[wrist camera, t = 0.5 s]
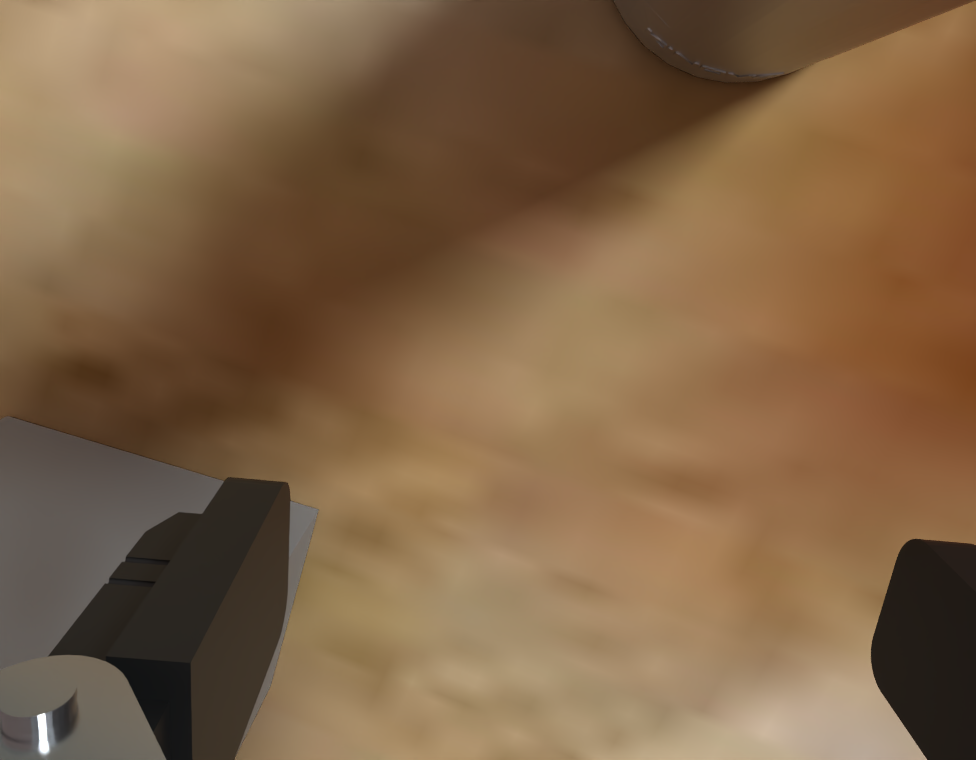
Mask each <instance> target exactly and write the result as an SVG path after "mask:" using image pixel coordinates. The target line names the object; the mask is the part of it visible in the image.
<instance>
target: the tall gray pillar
mask: <svg viewBox="0 0 976 760" xmlns="http://www.w3.org/2000/svg"><path fill="white" fill-rule="evenodd" d="M223 482H224V481H222V480H219V479H216V478H212V477H209V476H206V475H202V474H199V473H196V472H192V471H189V470H186V469H182V468H179V467H176V466H172V465H169V464H166V463H162V462H159V461H156V460H152V459H149V458H146V457H142V456H139V455H136V454H132V453H129V452H126V451H122V450H119V449H116V448H112V447H109V446H106V445H103V444H99V443H96V442H93V441H89V440H86V439H83V438H79V437H76V436H73V435H69V434H66V433H63V432H59V431H56V430H53V429H49V428H46V427H43V426H39V425H36V424H33V423H29V422H26V421H23V420H19V419H16V418H13V417H9V416H6V417H4V418H2V419H0V670H2V669H4V668H6V667H9V666H12V665H15V664H18V663H21V662H24V661H28V660H32V659H36V658H41V657H48V655H49V654H50V653H51V652H52V650H53V649H54V648H55V646H56V645H57V644H58V643H59V641H60V640H61V639H62V637H63V636H64V635H65V634H66V632H67V631H68V630H69V629H70V627H71V626H72V625H73V623H74V622H75V621H76V620H77V618H78V617H79V616H80V614H81V613H82V612H83V611H84V609H85V608H86V607H87V606H88V604H89V603H90V602H91V600H92V599H93V598H94V597H95V595H96V594H97V593H98V591H99V590H100V589H101V588H102V586H103V585H104V584H105V583H106V584H108V582H109V577H110V576H111V575H112V574H113V572H114V571H115V570H116V568H117V567H118V566H119V565H120V563H121V562H125V559H126V556H127V554H128V553H129V552H130V551H131V549H132V548H133V547H134V545H135V544H136V543H137V542H138V540H139V539H140V538H141V537H142V535H143V534H144V533H145V532H146V531H147V530H149V529H151V528H152V527H154V526H156V525H158V524H159V523H161V522H163V521H164V520H166V519H168V518H169V517H171V516H173V515H175V514H176V513H178V512H185V513H197V514H202V513H203V512H204V510H205V509H206V507H207V506H208V504H209V503H210V501H211V500H212V499H213V497H214V496H215V494H216V493H217V491H218V490H219V488H220V487H221V485H222V484H223ZM318 510H319V509H315V508H312V507H309V506H305V505H302V504H299V503H295V502H292V501H290V533H289V571H288V596H287V605H286V612H285V618H284V623H283V628H282V632H281V636H280V639H279V642H278V645H277V647H276V650H275V653H274V655H273V658H272V661H271V663H270V666H269V669H268V671H267V674H266V677H265V679H264V682H263V685H262V687H261V690H260V693H259V695H258V698H257V701H256V703H255V706H254V709H253V711H252V714H251V717H250V719H249V722H248V725H247V727H246V730H245V733H244V735H243V738H242V741H241V743H240V746H239V749H240V747H241V745H242V743H243V741H244V739H245V737H246V735H247V733H248V731H249V729H250V727H251V725H252V723H253V721H254V719H255V717H256V715H257V712H258V710H259V708H260V706H261V704H262V702H263V700H264V698H265V696H266V694H267V692H268V690H269V688H270V686H271V682H272V679H273V675H274V671H275V668H276V664H277V660H278V657H279V653H280V649H281V646H282V642H283V638H284V635H285V631H286V627H287V624H288V620H289V616H290V613H291V609H292V605H293V602H294V598H295V595H296V591H297V587H298V584H299V580H300V576H301V573H302V569H303V565H304V562H305V558H306V554H307V551H308V547H309V543H310V540H311V536H312V532H313V529H314V525H315V521H316V518H317V514H318ZM239 749H238V751H239ZM238 751H237V753H238ZM236 755H237V754H236Z"/></svg>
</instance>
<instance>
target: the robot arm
mask: <svg viewBox="0 0 976 760" xmlns="http://www.w3.org/2000/svg"><path fill="white" fill-rule="evenodd" d="M613 1H614V2H615V4H616V6H617V8H618V10H619V12H620V14H621V16H622V18H623V20H624V22H625V23H626V24H627V25H628V27H629V28H630V29H631V30H632V31H633V33H634V34H635V35H636V36H637V37H638V39H639V40H640V41H641V42H642V43H643V45H644V46H645V47H647V48H648V49H649V50H651V51H652V52H653V53H655V54H656V55H657V56H658V57H660V58H661V59H662V60H664V61H665V62H666V63H668V64H669V65H671V66H674V67H676V68H678V69H680V70H682V71H685V72H687V73H689V74H691V75H693V76H696V77H700V78H705V79H710V80H715V81H720V82H725V83H726V82H757V81H761V80H765V79H769V78H773V77H777V76H781V75H786V74H788V73H791V72H793V71H796V70H799V69H801V68H804V67H806V66H809V65H811V64H814V63H816V62H819V61H821V60H824V59H827V58H830V57H833V56H836V55H838V54H841V53H843V52H846V51H848V50H851V49H853V48H856V47H858V46H861V45H864V44H866V43H869V42H871V41H874V40H876V39H879V38H881V37H884V36H886V35H889V34H891V33H894V32H897V31H899V30H902V29H904V28H907V27H909V26H912V25H914V24H917V23H919V22H922V21H924V20H927V19H930V18H932V17H935V16H937V15H940V14H942V13H945V12H947V11H950V10H952V9H955V8H957V7H960V6H963V5H965V4H968V3H970V2H973V1H975V0H613ZM289 533H290V489H289V485H288V483H287V482H277V481H266V480H255V479H243V478H232V477H228V478H227V479H226V480H225V481H224V482H223V484H222V485H221V487H220V488H219V490H218V491H217V493H216V494H215V496H214V497H213V499H212V500H211V501H210V503H209V504H208V506H207V507H206V509H205V510H204V512H203V513H202V514H197V513H185V512H178V513H176V514H175V515H173V516H171V517H169V518H168V519H166V520H164V521H163V522H161V523H159V524H158V525H156V526H154V527H152V528H151V529H149V530H147V531H146V532H145V533H144V534H143V535H142V537H141V538H140V539H139V540H138V542H137V543H136V544H135V545H134V547H133V548H132V549H131V551H130V552H129V553H128V554H127V556H126V559H125V562H121V563H120V565H119V566H118V567H117V568H116V570H115V571H114V572H113V574H112V575H111V576H110V577H109V582H108V584H106V583H105V584H104V585H103V586H102V588H101V589H100V590H99V591H98V593H97V594H96V595H95V597H94V598H93V599H92V600H91V602H90V603H89V604H88V606H87V607H86V608H85V609H84V611H83V612H82V613H81V614H80V616H79V617H78V618H77V620H76V621H75V622H74V623H73V625H72V626H71V627H70V629H69V630H68V631H67V632H66V634H65V635H64V636H63V637H62V639H61V640H60V641H59V643H58V644H57V645H56V646H55V648H54V649H53V650H52V652H51V653H50V654H49V655H48V657H41V658H36V659H32V660H28V661H24V662H21V663H18V664H15V665H12V666H9V667H6V668H4V669H2V670H0V760H234V759H235V757H236V754H237V751H238V749H239V746H240V743H241V741H242V738H243V735H244V733H245V730H246V727H247V725H248V722H249V719H250V717H251V714H252V711H253V709H254V706H255V703H256V701H257V698H258V695H259V693H260V690H261V687H262V685H263V682H264V679H265V677H266V674H267V671H268V669H269V666H270V663H271V661H272V658H273V655H274V653H275V650H276V647H277V645H278V642H279V639H280V636H281V632H282V628H283V623H284V618H285V612H286V605H287V596H288V571H289ZM871 663H872V669H873V674H874V677H875V680H876V683H877V685H878V687H879V689H880V691H881V692H882V694H883V695H884V697H885V698H886V700H887V701H888V703H889V704H890V706H891V707H892V709H893V710H894V711H895V713H896V714H897V716H898V717H899V719H900V720H901V722H902V723H903V725H904V726H905V728H906V729H907V731H908V732H909V733H910V735H911V736H912V738H913V739H914V741H915V742H916V744H917V745H918V747H919V748H920V750H921V751H922V752H923V754H924V755H925V757H926V758H927V760H976V545H974V544H968V543H956V542H945V541H934V540H922V539H912V540H910V541H908V542H907V543H905V544H904V546H903V547H902V548H901V550H900V552H899V554H898V557H897V560H896V563H895V566H894V570H893V573H892V576H891V580H890V583H889V586H888V590H887V593H886V596H885V600H884V603H883V606H882V609H881V613H880V616H879V619H878V623H877V626H876V629H875V633H874V636H873V640H872V646H871Z"/></svg>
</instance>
